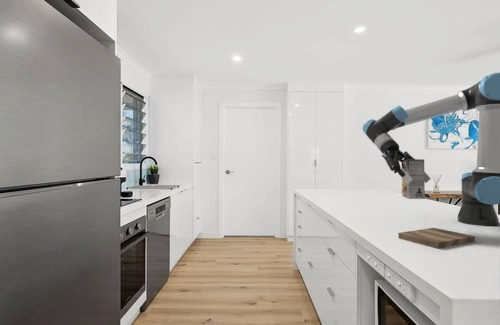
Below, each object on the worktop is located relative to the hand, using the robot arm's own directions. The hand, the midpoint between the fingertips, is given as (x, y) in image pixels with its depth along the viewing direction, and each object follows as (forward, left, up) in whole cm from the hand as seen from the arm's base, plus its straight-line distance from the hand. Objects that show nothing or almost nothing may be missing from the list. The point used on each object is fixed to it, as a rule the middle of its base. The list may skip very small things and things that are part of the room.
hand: (419, 181), depth 120 cm
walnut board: (+7, +11, -21) cm, 24 cm away
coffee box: (0, -3, -7) cm, 8 cm away
